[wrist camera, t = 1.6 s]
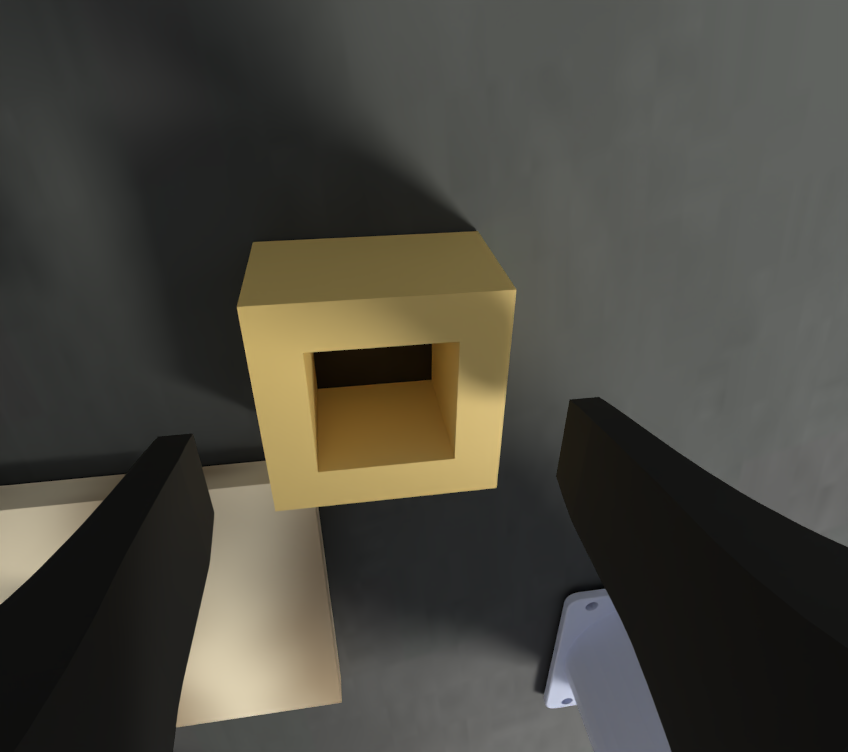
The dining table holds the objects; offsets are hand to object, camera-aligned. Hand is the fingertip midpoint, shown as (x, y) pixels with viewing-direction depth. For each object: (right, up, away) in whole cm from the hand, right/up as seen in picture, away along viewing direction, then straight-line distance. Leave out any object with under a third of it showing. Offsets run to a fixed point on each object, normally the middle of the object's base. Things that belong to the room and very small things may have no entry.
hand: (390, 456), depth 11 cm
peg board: (-9, -6, +9) cm, 14 cm away
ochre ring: (-1, +3, +4) cm, 5 cm away
